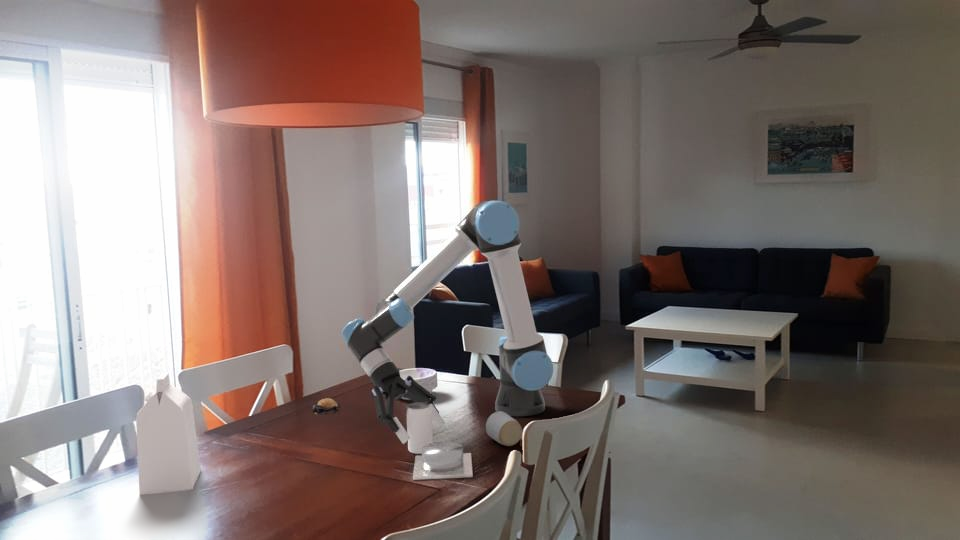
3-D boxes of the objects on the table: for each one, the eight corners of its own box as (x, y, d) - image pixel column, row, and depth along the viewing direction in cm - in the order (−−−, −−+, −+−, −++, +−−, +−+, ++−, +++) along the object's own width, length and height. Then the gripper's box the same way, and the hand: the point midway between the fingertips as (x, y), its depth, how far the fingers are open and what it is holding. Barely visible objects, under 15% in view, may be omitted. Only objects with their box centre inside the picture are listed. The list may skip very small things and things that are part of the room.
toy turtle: (312, 407, 238) (311, 396, 238) (338, 404, 240) (338, 393, 240) (313, 417, 228) (312, 405, 228) (340, 414, 230) (340, 402, 230)
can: (438, 449, 194) (436, 404, 193) (420, 456, 189) (418, 410, 188) (421, 444, 198) (419, 400, 197) (403, 451, 193) (400, 406, 192)
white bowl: (382, 398, 244) (381, 375, 243) (413, 388, 256) (412, 365, 255) (416, 405, 235) (415, 381, 234) (447, 394, 247) (446, 370, 246)
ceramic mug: (500, 450, 192) (499, 421, 191) (485, 441, 199) (484, 413, 198) (535, 443, 197) (534, 414, 196) (519, 434, 204) (519, 407, 203)
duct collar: (471, 456, 188) (470, 437, 188) (472, 477, 174) (471, 457, 174) (415, 458, 188) (414, 440, 187) (412, 480, 174) (411, 460, 173)
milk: (192, 489, 173) (183, 380, 170) (139, 495, 171) (129, 384, 168) (200, 470, 185) (192, 368, 182) (151, 475, 182) (142, 372, 180)
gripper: (406, 368, 211) (448, 428, 204) (339, 388, 192) (383, 455, 184) (419, 351, 207) (462, 412, 200) (352, 370, 188) (397, 438, 180)
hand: (424, 433), depth 192 cm, fingers open, 13 cm apart
